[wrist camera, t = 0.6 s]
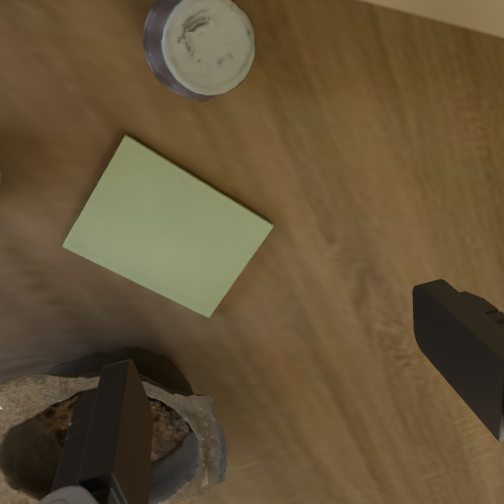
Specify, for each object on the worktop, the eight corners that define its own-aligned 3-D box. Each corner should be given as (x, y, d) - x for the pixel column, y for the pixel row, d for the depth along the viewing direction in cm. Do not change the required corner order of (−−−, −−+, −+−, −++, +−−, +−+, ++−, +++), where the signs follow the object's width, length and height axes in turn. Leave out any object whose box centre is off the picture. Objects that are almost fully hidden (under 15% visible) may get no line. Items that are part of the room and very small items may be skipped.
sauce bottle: (148, -1, 34) (121, -70, 16) (227, 3, 35) (285, -59, 17) (154, 89, 37) (136, 115, 19) (228, 89, 38) (278, 115, 20)
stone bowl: (215, 304, 46) (227, 365, 37) (219, 462, 57) (228, 534, 49) (-44, 326, 41) (-94, 400, 33) (17, 491, 53) (-9, 575, 45)
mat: (63, 244, 41) (61, 246, 40) (125, 133, 38) (125, 134, 37) (208, 315, 46) (208, 318, 46) (272, 224, 43) (274, 226, 43)
